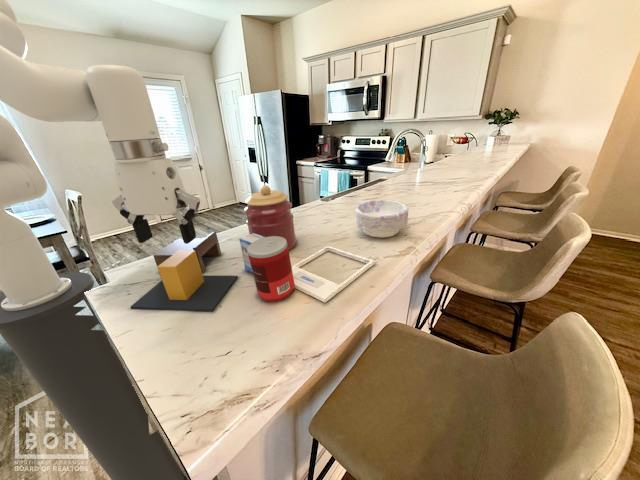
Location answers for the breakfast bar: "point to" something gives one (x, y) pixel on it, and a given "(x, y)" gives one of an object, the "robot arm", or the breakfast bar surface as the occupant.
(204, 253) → the shelf stand
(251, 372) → the breakfast bar surface
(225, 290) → the counter mat
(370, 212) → the white purple bowl
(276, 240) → the canned food
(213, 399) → the breakfast bar surface
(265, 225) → the kitchen canister
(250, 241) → the medicine box
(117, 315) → the breakfast bar surface
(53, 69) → the robot arm
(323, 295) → the photo frame
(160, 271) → the tea packet
